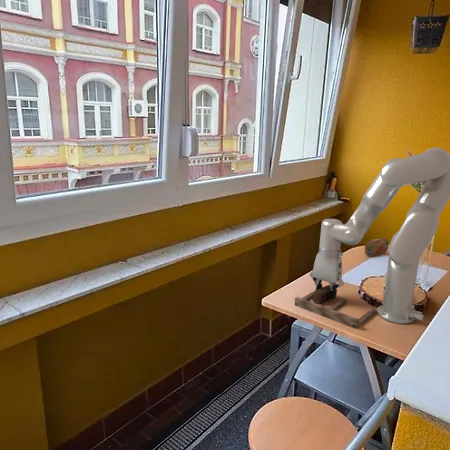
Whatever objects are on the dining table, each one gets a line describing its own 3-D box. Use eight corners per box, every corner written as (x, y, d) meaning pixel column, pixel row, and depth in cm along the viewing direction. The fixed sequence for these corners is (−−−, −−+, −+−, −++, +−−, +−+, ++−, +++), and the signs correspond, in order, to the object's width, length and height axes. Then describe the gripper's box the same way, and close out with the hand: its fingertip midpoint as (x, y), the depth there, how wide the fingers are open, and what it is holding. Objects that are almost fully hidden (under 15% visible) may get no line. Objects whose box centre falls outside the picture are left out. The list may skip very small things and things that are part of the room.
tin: (367, 258, 201) (369, 242, 198) (362, 256, 203) (364, 240, 201) (387, 253, 208) (389, 238, 206) (382, 252, 210) (384, 236, 208)
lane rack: (375, 312, 146) (376, 305, 145) (356, 328, 135) (356, 320, 134) (316, 292, 162) (317, 285, 161) (294, 305, 151) (295, 297, 150)
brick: (321, 305, 151) (322, 294, 149) (312, 302, 154) (313, 290, 152) (336, 297, 158) (337, 286, 156) (328, 294, 160) (329, 283, 159)
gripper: (354, 255, 147) (349, 300, 152) (314, 244, 158) (310, 286, 163) (345, 260, 142) (340, 307, 147) (304, 248, 153) (300, 292, 158)
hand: (324, 296), depth 155 cm, fingers closed on brick, 4 cm apart
